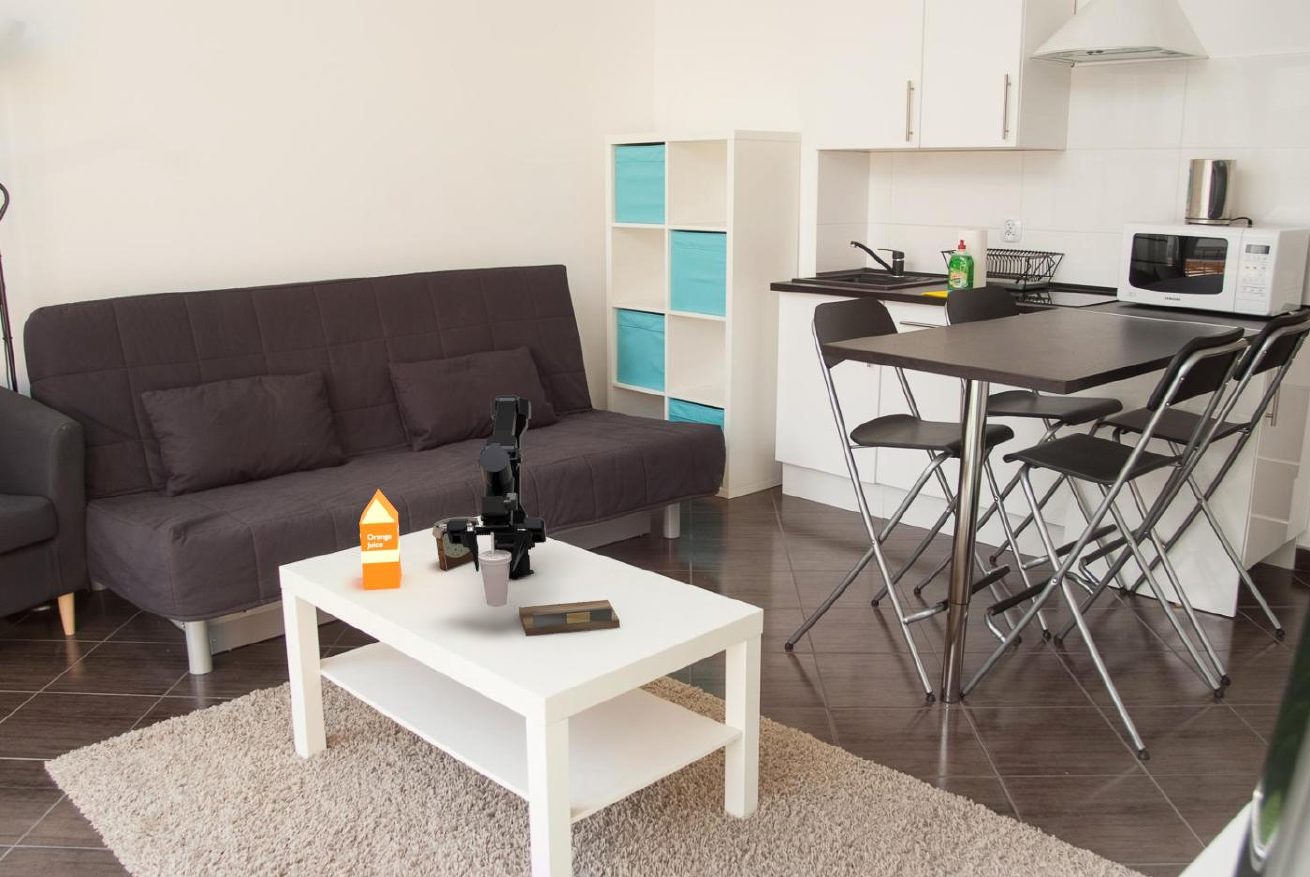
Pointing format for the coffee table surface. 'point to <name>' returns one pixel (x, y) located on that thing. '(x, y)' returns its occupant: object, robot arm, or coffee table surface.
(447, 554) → the brown cake slice
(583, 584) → the coffee table surface
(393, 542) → the orange juice
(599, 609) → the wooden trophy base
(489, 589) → the smoothie
